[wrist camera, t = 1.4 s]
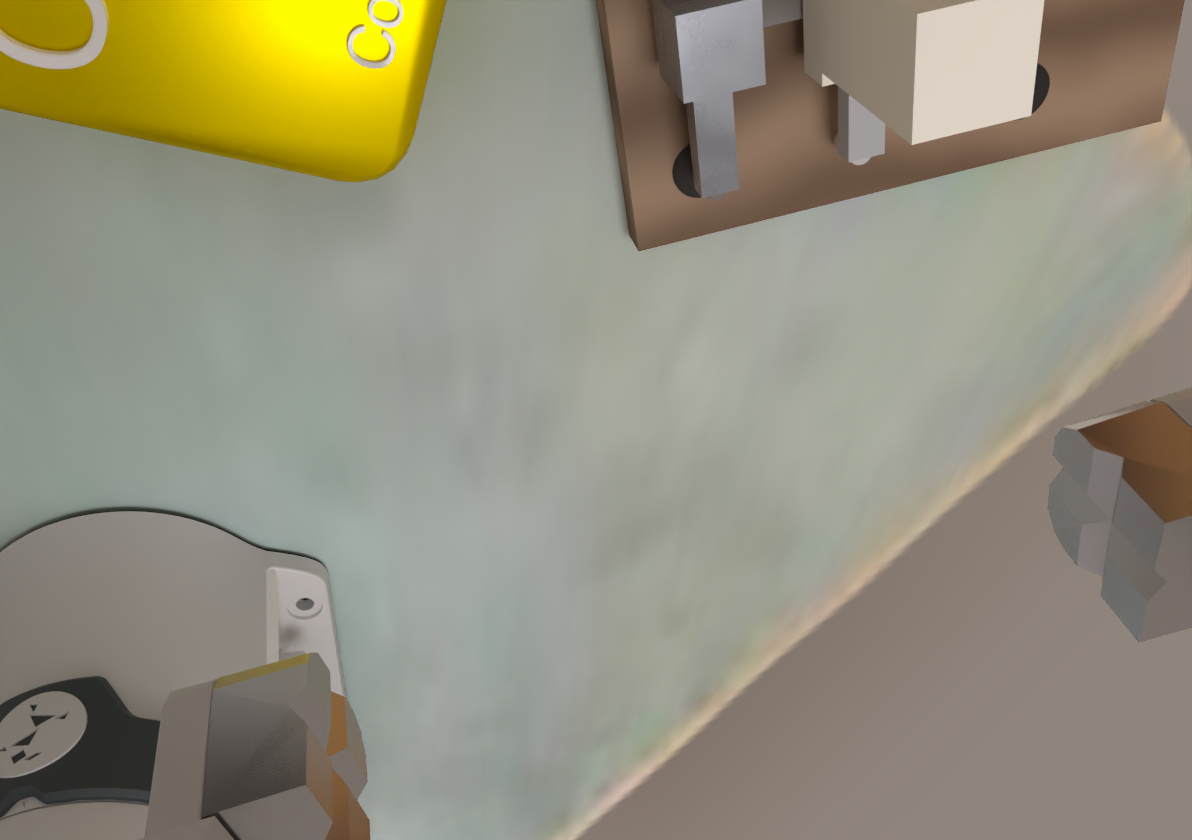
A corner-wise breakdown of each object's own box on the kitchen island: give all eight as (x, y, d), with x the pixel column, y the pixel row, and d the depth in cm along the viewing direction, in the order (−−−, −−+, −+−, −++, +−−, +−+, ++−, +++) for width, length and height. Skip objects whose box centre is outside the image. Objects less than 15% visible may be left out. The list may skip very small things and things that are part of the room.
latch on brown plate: (1139, 109, 47) (1175, 129, 45) (629, 235, 45) (645, 262, 43) (1193, -192, 40) (1240, -184, 38) (587, -59, 38) (603, -43, 36)
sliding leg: (891, 139, 43) (1016, 242, 36) (799, 162, 43) (906, 270, 35) (898, -97, 37) (1048, -34, 30) (792, -74, 37) (917, -4, 30)
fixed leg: (741, 176, 42) (771, 212, 40) (670, 193, 42) (696, 231, 39) (727, -30, 37) (761, -4, 35) (647, -11, 37) (675, 16, 34)
